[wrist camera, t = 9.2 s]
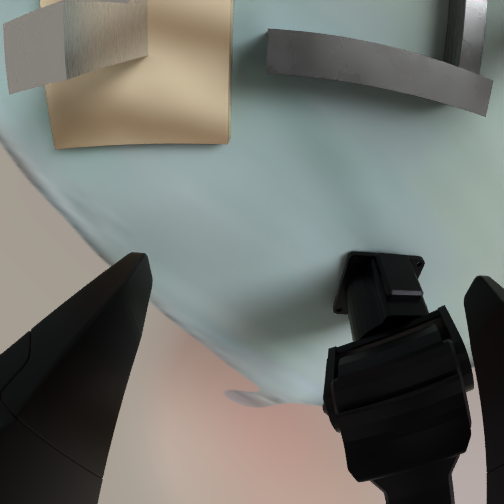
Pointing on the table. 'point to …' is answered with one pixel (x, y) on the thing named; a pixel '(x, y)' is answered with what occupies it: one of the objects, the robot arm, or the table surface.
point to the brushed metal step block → (73, 40)
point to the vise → (394, 60)
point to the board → (155, 84)
